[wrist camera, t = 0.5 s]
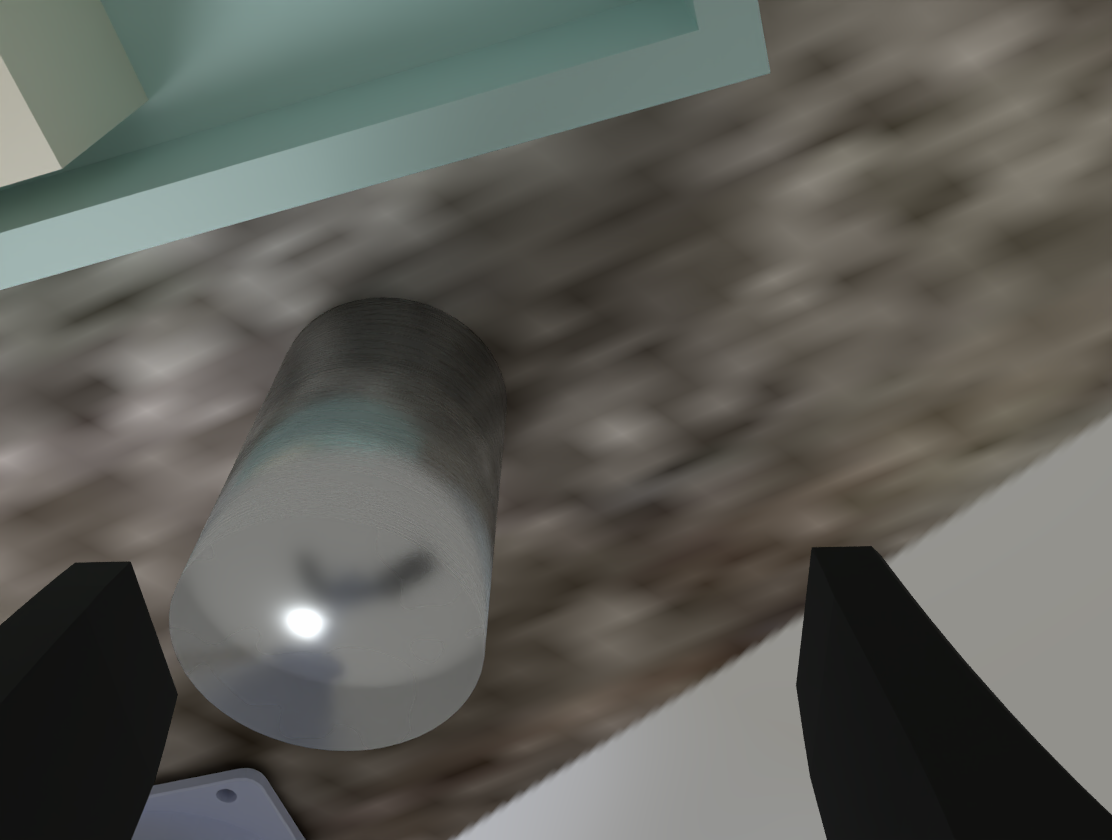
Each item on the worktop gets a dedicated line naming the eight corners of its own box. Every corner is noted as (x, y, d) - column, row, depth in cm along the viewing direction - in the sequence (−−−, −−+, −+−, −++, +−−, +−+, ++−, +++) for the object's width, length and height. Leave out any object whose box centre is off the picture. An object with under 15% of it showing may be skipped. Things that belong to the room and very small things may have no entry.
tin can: (331, 513, 23) (249, 774, 17) (242, 331, 21) (111, 557, 15) (534, 465, 22) (523, 719, 16) (465, 272, 20) (423, 485, 14)
